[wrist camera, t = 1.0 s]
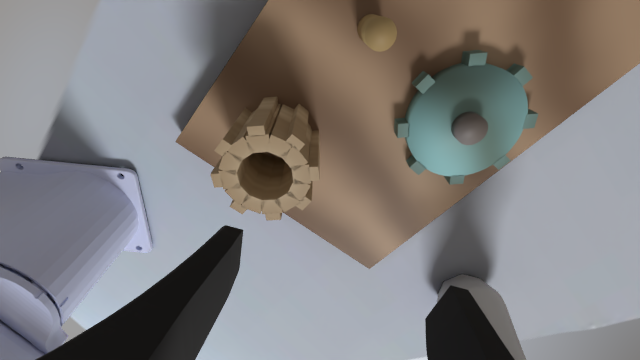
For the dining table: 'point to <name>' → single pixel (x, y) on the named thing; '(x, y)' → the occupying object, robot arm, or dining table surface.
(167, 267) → the dining table surface
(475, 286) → the salt shaker
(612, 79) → the gear board
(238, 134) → the wooden gear
